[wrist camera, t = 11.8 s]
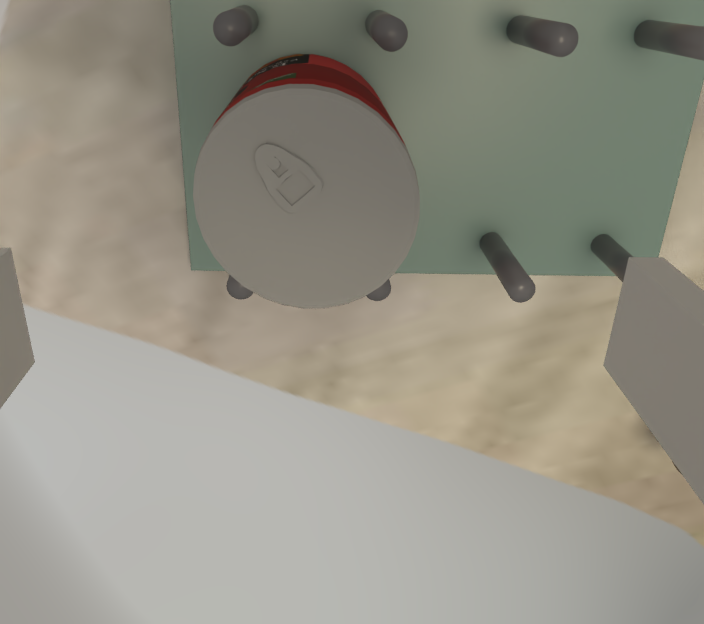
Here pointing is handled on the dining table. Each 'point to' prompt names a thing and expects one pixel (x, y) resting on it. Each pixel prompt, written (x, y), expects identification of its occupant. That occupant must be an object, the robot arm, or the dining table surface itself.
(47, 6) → the dining table surface
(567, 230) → the rack
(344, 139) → the canned food
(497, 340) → the dining table surface
